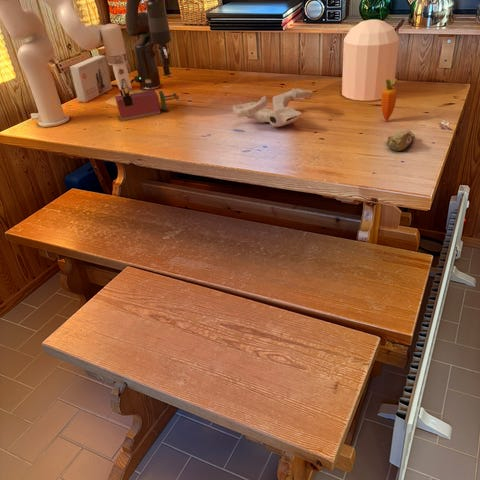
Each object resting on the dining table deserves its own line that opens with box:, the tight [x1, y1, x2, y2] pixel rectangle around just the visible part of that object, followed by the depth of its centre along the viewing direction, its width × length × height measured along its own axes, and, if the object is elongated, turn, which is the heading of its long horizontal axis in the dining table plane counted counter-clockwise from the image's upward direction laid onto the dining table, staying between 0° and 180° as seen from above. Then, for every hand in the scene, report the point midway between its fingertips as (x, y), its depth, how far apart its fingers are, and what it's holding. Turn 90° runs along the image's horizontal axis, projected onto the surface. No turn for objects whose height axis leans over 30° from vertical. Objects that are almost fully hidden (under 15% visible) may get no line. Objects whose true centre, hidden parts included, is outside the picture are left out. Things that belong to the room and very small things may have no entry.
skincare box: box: [69, 54, 113, 103], centre depth 218 cm, size 21×6×16 cm, turn 158°
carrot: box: [380, 78, 398, 122], centre depth 161 cm, size 5×5×15 cm
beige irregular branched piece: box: [231, 88, 314, 128], centre depth 171 cm, size 28×26×12 cm
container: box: [341, 18, 400, 102], centre depth 185 cm, size 21×21×28 cm
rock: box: [387, 129, 416, 152], centre depth 146 cm, size 11×6×10 cm
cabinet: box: [114, 89, 161, 122], centre depth 191 cm, size 16×6×8 cm, turn 109°
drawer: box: [157, 90, 180, 111], centre depth 193 cm, size 21×5×7 cm, turn 109°
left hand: (127, 102), depth 189 cm, fingers open, 9 cm apart
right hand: (167, 74), depth 189 cm, fingers closed
